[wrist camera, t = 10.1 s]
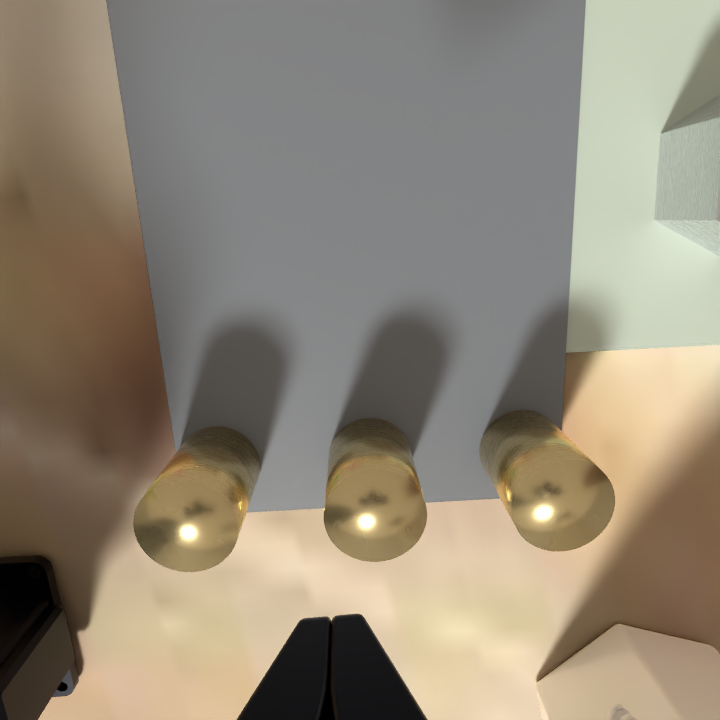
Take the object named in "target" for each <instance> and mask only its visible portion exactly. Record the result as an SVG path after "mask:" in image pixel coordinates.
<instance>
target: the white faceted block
mask: <svg viewBox="0 0 720 720" xmlns="http://www.w3.org/2000/svg"><path fill="white" fill-rule="evenodd" d="M654 221H656V222H658V223H660V224H662V225H663V226H665V227H667V228H669V229H671V230H673V231H674V232H676V233H678V234H680V235H682V236H683V237H685V238H687V239H689V240H691V241H692V242H694V243H696V244H698V245H700V246H702V247H703V248H705V249H707V250H709V251H711V252H712V253H714V254H716V255H718V256H720V94H719V95H718V96H716V97H715V98H713V99H712V100H710V101H709V102H707V103H706V104H704V105H703V106H701V107H700V108H698V109H697V110H695V111H694V112H692V113H691V114H689V115H688V116H686V117H685V118H683V119H682V120H680V121H679V122H677V123H676V124H674V125H673V126H671V127H670V128H668V129H667V130H665V131H664V132H662V133H661V134H660V147H659V161H658V174H657V187H656V200H655V214H654Z"/></svg>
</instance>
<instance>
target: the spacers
mask: <svg viewBox="0 0 720 720" xmlns="http://www.w3.org/2000/svg"><path fill="white" fill-rule="evenodd" d="M479 456H480V461H481V463H482V466H483V468H484V469H485V471H486V473H487V475H488V477H489V479H490V480H491V482H492V484H493V486H494V488H495V490H496V491H497V493H498V495H499V497H500V499H501V501H502V502H503V504H504V506H505V508H506V510H507V511H508V513H509V515H510V517H511V519H512V521H513V522H514V524H515V526H516V528H517V530H518V532H519V533H520V534H521V536H522V537H523V538H524V539H525V540H526V541H528V542H529V543H530V544H532V545H534V546H536V547H538V548H541V549H544V550H548V551H568V550H572V549H576V548H579V547H581V546H583V545H585V544H587V543H589V542H591V541H592V540H593V539H595V538H596V537H597V536H598V535H599V534H600V533H601V532H602V531H603V530H604V529H605V528H606V526H607V525H608V523H609V521H610V519H611V517H612V514H613V511H614V506H615V495H614V490H613V486H612V484H611V482H610V480H609V479H608V477H607V476H606V475H605V474H604V473H603V472H602V471H601V470H600V469H599V468H598V467H597V466H596V465H595V464H594V463H593V462H592V461H591V460H590V459H589V458H588V457H587V456H586V455H585V454H584V453H583V452H582V451H581V450H580V449H579V448H578V447H577V446H576V445H575V444H574V443H573V442H572V441H571V440H570V439H569V438H568V437H567V436H566V435H565V434H564V433H563V432H562V431H561V430H560V429H559V428H558V427H557V426H556V425H555V424H554V423H553V422H552V421H551V420H550V419H548V418H547V417H546V416H544V415H542V414H540V413H538V412H535V411H530V410H517V411H512V412H509V413H506V414H504V415H502V416H500V417H499V418H497V419H496V420H494V421H493V422H492V423H491V424H490V425H489V426H488V428H487V429H486V430H485V432H484V434H483V436H482V438H481V441H480V446H479ZM260 468H261V467H260V458H259V455H258V452H257V450H256V448H255V447H254V445H253V444H252V442H251V441H250V440H249V439H248V438H247V437H245V436H244V435H243V434H241V433H239V432H238V431H236V430H233V429H230V428H226V427H218V426H214V427H207V428H203V429H201V430H198V431H196V432H194V433H193V434H192V435H190V436H189V437H188V438H187V439H186V440H185V441H184V443H183V444H182V445H181V447H180V448H179V450H178V451H177V452H176V454H175V455H174V456H173V458H172V459H171V460H170V462H169V463H168V464H167V466H166V467H165V468H164V470H163V471H162V472H161V474H160V475H159V477H158V478H157V479H156V481H155V482H154V483H153V485H152V486H151V487H150V489H149V490H148V491H147V493H146V494H145V495H144V497H143V498H142V499H141V501H140V502H139V504H138V506H137V508H136V511H135V515H134V532H135V535H136V538H137V541H138V543H139V544H140V546H141V548H142V549H143V550H144V552H145V553H146V554H147V555H148V556H149V557H150V558H152V559H153V560H154V561H156V562H157V563H159V564H160V565H162V566H165V567H167V568H170V569H172V570H177V571H183V572H196V571H202V570H206V569H209V568H212V567H214V566H216V565H218V564H219V563H220V562H222V561H223V560H224V559H225V558H226V557H227V556H228V555H229V554H230V553H231V551H232V550H233V548H234V546H235V543H236V541H237V538H238V535H239V532H240V529H241V527H242V524H243V521H244V518H245V515H246V512H247V509H248V506H249V504H250V501H251V498H252V495H253V492H254V489H255V486H256V484H257V481H258V478H259V474H260ZM426 521H427V510H426V505H425V501H424V497H423V493H422V490H421V486H420V482H419V479H418V475H417V471H416V468H415V464H414V460H413V457H412V453H411V449H410V446H409V443H408V440H407V439H406V437H405V435H404V434H403V433H402V431H401V430H400V429H399V428H397V427H396V426H395V425H393V424H391V423H389V422H387V421H385V420H381V419H375V418H366V419H360V420H356V421H354V422H351V423H349V424H348V425H346V426H345V427H343V428H342V429H341V430H340V431H339V432H338V433H337V434H336V436H335V437H334V439H333V441H332V443H331V446H330V450H329V459H328V471H327V483H326V495H325V507H324V524H325V528H326V531H327V534H328V536H329V538H330V539H331V541H332V542H333V543H334V544H335V546H336V547H337V548H339V549H340V550H341V551H342V552H344V553H345V554H347V555H349V556H351V557H353V558H356V559H359V560H363V561H370V562H378V561H385V560H390V559H393V558H396V557H398V556H400V555H402V554H404V553H405V552H407V551H408V550H409V549H411V548H412V547H413V546H414V545H415V544H416V543H417V541H418V540H419V539H420V537H421V535H422V533H423V531H424V528H425V525H426Z"/></svg>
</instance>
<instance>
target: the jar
mask: <svg viewBox="0 0 720 720" xmlns="http://www.w3.org/2000/svg"><path fill="white" fill-rule="evenodd" d="M536 692H537V696H538V701H539V706H540V711H541V716H542V720H720V653H719V652H718V651H717V650H716V649H715V648H714V647H713V646H711V645H708V644H704V643H700V642H695V641H691V640H687V639H682V638H678V637H674V636H669V635H665V634H661V633H657V632H652V631H648V630H644V629H640V628H635V627H631V626H627V625H623V624H616V625H614V626H613V627H611V628H610V629H608V630H607V631H606V632H604V633H603V634H602V635H600V636H599V637H598V638H596V639H595V640H594V641H592V642H591V643H590V644H588V645H587V646H585V647H584V648H583V649H581V650H580V651H579V652H577V653H576V654H575V655H573V656H572V657H571V658H569V659H568V660H567V661H565V662H564V663H562V664H561V665H560V666H558V667H557V668H556V669H554V670H553V671H552V672H550V673H549V674H548V675H546V676H545V677H544V678H542V679H541V680H540V681H538V682H537V684H536Z"/></svg>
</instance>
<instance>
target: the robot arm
mask: <svg viewBox="0 0 720 720" xmlns="http://www.w3.org/2000/svg"><path fill="white" fill-rule="evenodd" d="M34 568H36V569H38V570H39V571H40V572H37V571H36V570H34ZM74 660H75V655H74V650H73V646H72V642H71V637H70V633H69V629H68V625H67V620H66V616H65V612H64V610H63V608H62V605H61V601H60V597H59V593H58V589H57V584H56V580H55V576H54V572H53V567H52V564H51V562H50V561H49V560H48V559H47V558H45V557H43V556H21V557H3V558H0V720H38V718H39V717H40V715H41V714H42V712H43V710H44V709H45V707H46V706H47V704H48V702H49V701H50V699H51V697H60V696H67V695H70V694H71V693H72V692H73V690H74V688H75V687H76V685H77V683H78V680H79V678H78V673H77V669H76V665H75V661H74ZM237 720H427V718H426V716H425V715H424V713H423V712H422V710H421V708H420V707H419V705H418V704H417V702H416V700H415V699H414V697H413V695H412V694H411V692H410V691H409V689H408V687H407V686H406V684H405V683H404V681H403V679H402V678H401V676H400V674H399V673H398V671H397V670H396V668H395V666H394V665H393V663H392V662H391V660H390V658H389V657H388V655H387V654H386V652H385V650H384V649H383V647H382V645H381V644H380V642H379V641H378V639H377V637H376V636H375V634H374V633H373V631H372V629H371V628H370V626H369V624H368V623H367V621H366V620H365V618H364V617H363V616H362V615H361V614H349V615H338V616H335V617H334V618H333V619H332V622H331V619H330V618H329V617H314V618H304V619H302V620H300V621H299V623H298V624H297V626H296V627H295V629H294V630H293V632H292V633H291V635H290V637H289V638H288V640H287V641H286V643H285V644H284V646H283V648H282V649H281V651H280V652H279V654H278V655H277V657H276V659H275V660H274V662H273V663H272V665H271V666H270V668H269V670H268V671H267V673H266V674H265V676H264V677H263V679H262V681H261V682H260V684H259V685H258V687H257V688H256V690H255V692H254V693H253V695H252V696H251V698H250V699H249V701H248V703H247V704H246V706H245V707H244V709H243V710H242V712H241V714H240V715H239V717H238V718H237Z"/></svg>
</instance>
